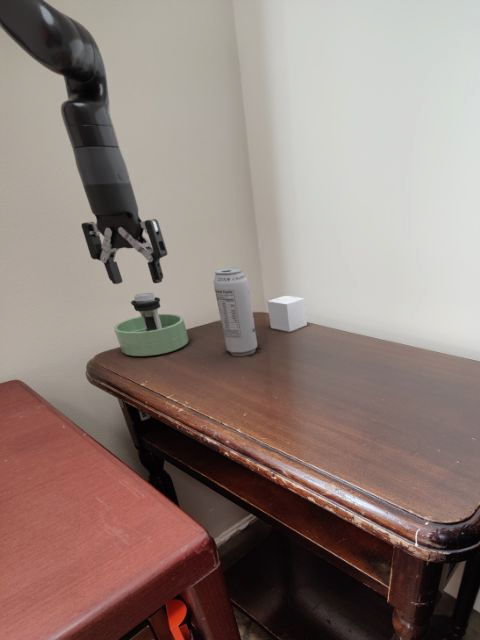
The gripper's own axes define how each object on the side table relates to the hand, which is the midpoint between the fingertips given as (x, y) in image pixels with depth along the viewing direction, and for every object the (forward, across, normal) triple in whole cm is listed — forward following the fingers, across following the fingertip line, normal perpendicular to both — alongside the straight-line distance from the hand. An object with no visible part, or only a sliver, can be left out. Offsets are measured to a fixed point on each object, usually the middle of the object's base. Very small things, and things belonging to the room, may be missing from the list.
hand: (137, 282), depth 76 cm
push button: (+12, 0, 0) cm, 12 cm away
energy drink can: (+13, -20, +2) cm, 24 cm away
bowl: (+13, 0, 0) cm, 13 cm away
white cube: (+13, -25, -15) cm, 32 cm away
